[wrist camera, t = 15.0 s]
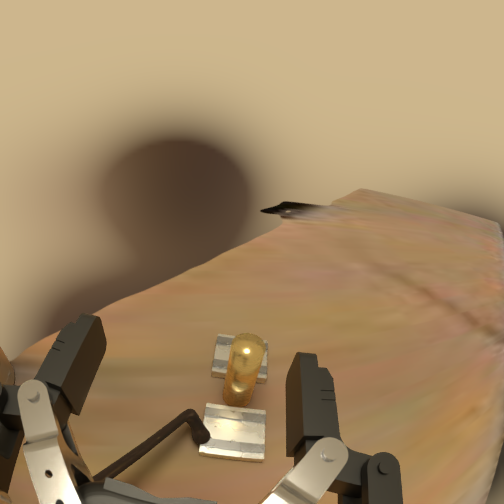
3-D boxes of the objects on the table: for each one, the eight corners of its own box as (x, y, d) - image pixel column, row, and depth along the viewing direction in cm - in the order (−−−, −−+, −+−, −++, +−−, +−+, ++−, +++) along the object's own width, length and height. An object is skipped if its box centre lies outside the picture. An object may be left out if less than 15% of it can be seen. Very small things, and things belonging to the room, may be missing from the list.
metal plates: (198, 455, 33) (199, 450, 32) (217, 339, 50) (218, 332, 49) (261, 462, 33) (264, 458, 32) (265, 346, 50) (267, 339, 49)
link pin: (221, 406, 40) (229, 357, 33) (224, 383, 43) (232, 331, 36) (249, 409, 40) (265, 362, 33) (251, 386, 43) (266, 335, 37)
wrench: (196, 436, 36) (24, 558, 10) (178, 406, 36) (-9, 522, 11) (223, 437, 33) (36, 581, 8) (204, 405, 33) (-3, 543, 8)
